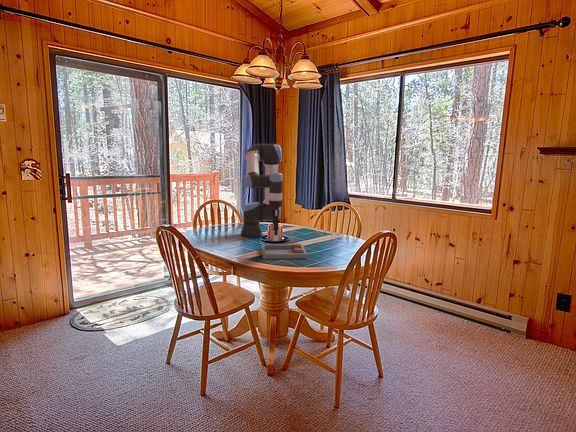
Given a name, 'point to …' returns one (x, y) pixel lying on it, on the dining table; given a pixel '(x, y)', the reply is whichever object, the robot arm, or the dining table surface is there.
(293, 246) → the cube
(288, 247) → the tray
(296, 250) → the cube
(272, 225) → the tan u-shaped piece
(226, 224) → the dining table surface
